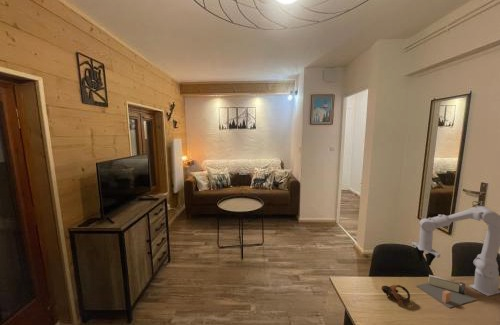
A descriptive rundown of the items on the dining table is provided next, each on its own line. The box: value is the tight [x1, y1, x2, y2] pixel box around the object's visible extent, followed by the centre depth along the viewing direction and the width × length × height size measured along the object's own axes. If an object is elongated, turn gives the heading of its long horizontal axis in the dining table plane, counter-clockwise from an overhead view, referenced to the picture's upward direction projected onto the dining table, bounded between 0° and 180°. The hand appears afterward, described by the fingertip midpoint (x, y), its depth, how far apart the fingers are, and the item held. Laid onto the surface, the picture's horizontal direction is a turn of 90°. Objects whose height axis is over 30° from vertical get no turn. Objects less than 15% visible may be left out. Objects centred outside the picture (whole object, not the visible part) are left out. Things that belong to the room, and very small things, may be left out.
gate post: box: [459, 281, 466, 295], centre depth 113 cm, size 2×2×6 cm
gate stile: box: [442, 290, 451, 303], centre depth 108 cm, size 3×2×5 cm, turn 104°
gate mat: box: [416, 282, 477, 309], centre depth 114 cm, size 18×16×1 cm
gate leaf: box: [428, 274, 460, 292], centre depth 117 cm, size 12×1×5 cm, turn 54°
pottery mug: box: [381, 284, 411, 306], centre depth 111 cm, size 12×10×8 cm
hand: (424, 262), depth 125 cm, fingers open, 4 cm apart
